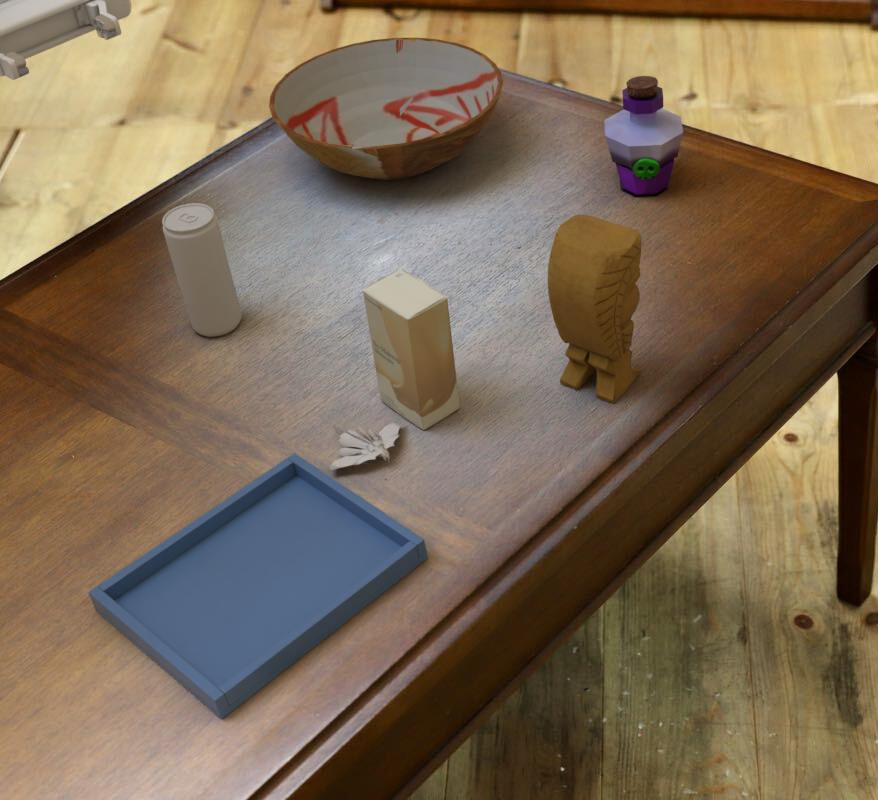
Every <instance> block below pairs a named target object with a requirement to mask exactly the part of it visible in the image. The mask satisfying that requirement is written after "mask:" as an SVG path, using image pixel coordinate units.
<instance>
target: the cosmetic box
mask: <svg viewBox="0 0 878 800" xmlns="http://www.w3.org/2000/svg"><path fill="white" fill-rule="evenodd" d="M362 294H363V299H364V300H363V301H364V306H365V312H366V317H367V318H366V319H367V323H368V325H367V326H368V330H369V336H370V337H369V338H370V343H371V349H372V354H373V361H374V367H375V374H376V380H377V386H378V392H379V398H380V401H382V402H383V403H385V405H387V406H388V407H389V408H391V409H392V410H394V411H395V412H396V413H397V414H399V415H400V416H402V417H403V418H404V419H406V420H408V421H409V422H411V423H412V424H413V425H415V426H416V427H418V428H419V429H420V430H422V431H425V430H428V428H430V427H432V426H434V425H435V424H437V423H438V422H440V421H442V420H443V419H445V418H447V417H448V416H450V415H451V414H453V413H454V412H457V411H458V410H459V409H460V407H461V405H460V398H459V397H460V396H459V387H458V379H457V371H456V364H455V363H456V362H455V361H456V360H455V353H454V343H453V336H452V327H451V319H450V310H449V309H450V308H449V302H448V300H449V299H448V296H447V295H445V294H444V293H442V292H440V291H439V290H437V289H436V288H434V287H432V285H429V284H428V283H427V282H426V281H424V280H422V279H420V278H418V277H417V276H415V275H413V274H412V273H410V272H409V271H407V270H406V269H404V268H402V267H400V268H397V269H396V270H394V271H392V272H391V273H388V274H387V275H385V276H383V277H382V278H379V279H378V280H376V281H374V282H372V283H371V284H369V285H368V286H366V287H364V288H363V289H362Z"/></svg>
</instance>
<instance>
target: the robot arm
mask: <svg viewBox="0 0 878 800" xmlns="http://www.w3.org/2000/svg"><path fill="white" fill-rule="evenodd" d="M131 13H132V1H131V0H0V77H6V78H9V79H11V80H13V81H15V80H18V79H19V78H22V77H25V76H26V75H29V74H30V69H29V67H27V61H26V60H27V59H30V58H31V57H34V56H37V55H39V54H41V53H43V52H46V51H48V50H51V49H53V48H55V47H58V46H61V45H62V44H66V43H67V42H70V41H72V40H74V39H77V38H80V37H81V36H84V35H86V34H89V33H91V32H93V31H95V32H96V34H97V37H99V38H101V39H104V40H105V41H109V40H111V39H113V38H117V37H118V36H120V35H122V28H121V26H120V22H119V21H120V20H122V19H125V18H127V17H129V16H130V15H131Z"/></svg>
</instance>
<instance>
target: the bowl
mask: <svg viewBox="0 0 878 800" xmlns="http://www.w3.org/2000/svg"><path fill="white" fill-rule="evenodd" d="M503 81H504V79H503V74H502V72H501V70H500V69H499V67H498V65H497V64H496V62H494V61H493V60H492V59H491V58H490V57H488V56H487V54H484V53H483V52H481V51H478V50H476V49H475V48H473V47H470V46H467V45H464V44H461V43H459V42H454V41H450V40H444V39H438V38H427V37H388V38H380V39H378V38H377V39H371V40H365V41H361V42H355V43H351V44H348V45H344V46H341V47H338V48H337V47H336V48H333V49H330V50H328V51H325V52H323V53H320V54H318V55H317V54H316V55H315V56H313V57H311V58H309V59H307V60H305V61H303V62H301V63H299V64H298V65H297V66H295V67H294V68H292V69H291V70H290V71H288V72H287V73H285V74H284V76H283V77H281V79H280V80H278V82H277V83H276V84H275V86H274V88H273V89H272V92H271V93H270V95H269V102H268V103H269V104H268V109H269V110H270V115H271V117H272V119H273V120H274V121H275V123H276V124H277V125H278V126H279V128H280V129H281V130H282V131H283V132H284V134H285V135H286V136H287V137H288V138H289V139H290V141H292V142H293V143H294V144H295V146H297V148H299V149H300V150H302V151H303V152H304V153H306V154H307V155H308V156H310V157H311V158H313V159H314V160H316V161H317V162H319V163H321V164H323V165H325V166H327V167H328V168H331V169H333V170H335V171H337V172H340V173H343V174H347V175H351V176H356V177H362V178H366V179H372V180H373V179H375V180H381V181H383V180H402V179H408V178H413V177H415V176H418V175H422V174H425V173H426V172H429V171H430V170H432V169H435V168H437V167H439V166H442V165H443V164H446V163H447V162H449V161H450V160H452V159H453V158H455V157H457V156H458V155H459V154H461V153H462V152H463V151H464V150H465V149H466V148H467V147H469V145H471V143H472V142H473V141H474V140H475V139H476V138H477V137H478V136H479V134H480V133H481V131H482V130H483V129H484V128H485V126H486V124H487V122H488V121H489V120H490V118H491V116H492V115H493V113H494V110H495V108H496V106H497V103H498V102H499V100H500V96H501V92H502V88H503V85H504V82H503Z"/></svg>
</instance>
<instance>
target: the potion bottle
mask: <svg viewBox="0 0 878 800" xmlns="http://www.w3.org/2000/svg"><path fill="white" fill-rule="evenodd" d="M658 85H659V81H658V78H657V77H655V76H651V75H638V76H634V77H631V78H630V79H628V80H627V81H626V87H625V88H623V89H622V90H621V91H622V93H621V94H622V110H620V111H618V112H616V113H615V114H612V115H611V116H609V117H607V118H605V119H604V135H605V136H604V137H605V140H606V143H607V148H608V150H609V155H610V158H611V161H612V163H614V164H615V166H616V167H615V168H616V170H617V174H618V177H619V187H620V191H621V192H624V193H625V194H628V195H631V196H632V197H634V198H645V197H647V198H648V197H649V198H650V197H657V196H659V195H661V194H662V193H664V192H666V191H667V190H669V189H670V188H671V185H670V181H671V177H672V172H673V168H674V164H675V158H677V157H678V156H679V151H680V148H681V143H682V139H683V135H684V129H683V121H682V116H681V115H678V114H677V113H673V112H671V111H669V110H667V109H664V91H663V88H662V87H660V86H658Z"/></svg>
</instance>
